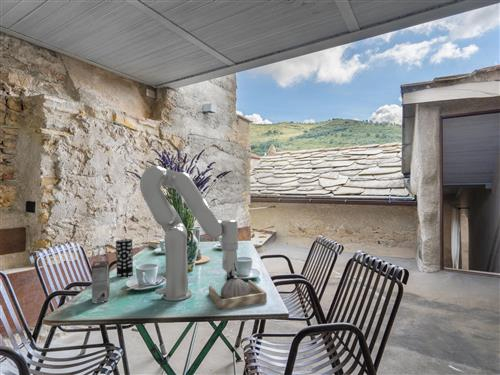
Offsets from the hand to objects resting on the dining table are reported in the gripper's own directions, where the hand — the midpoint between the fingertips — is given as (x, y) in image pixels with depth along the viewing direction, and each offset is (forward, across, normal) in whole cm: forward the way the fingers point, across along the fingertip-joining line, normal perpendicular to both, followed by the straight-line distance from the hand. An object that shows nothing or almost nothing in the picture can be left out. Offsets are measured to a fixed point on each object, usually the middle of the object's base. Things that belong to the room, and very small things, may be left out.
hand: (230, 285), depth 136 cm
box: (+3, +8, 0) cm, 8 cm away
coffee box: (+3, -14, -56) cm, 58 cm away
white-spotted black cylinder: (+3, -48, -48) cm, 68 cm away
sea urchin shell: (+3, +8, 0) cm, 8 cm away
